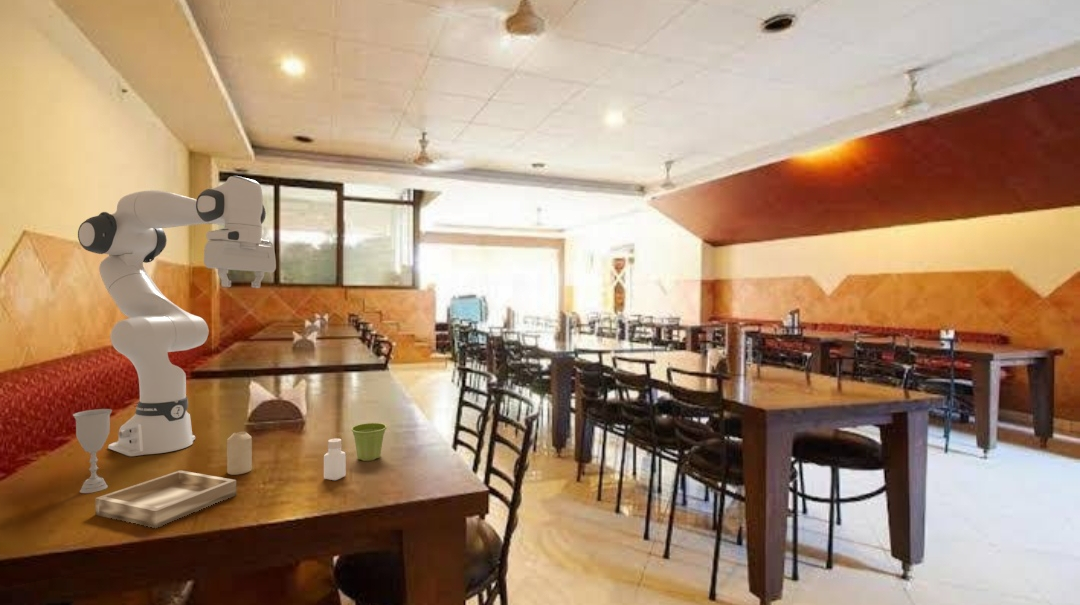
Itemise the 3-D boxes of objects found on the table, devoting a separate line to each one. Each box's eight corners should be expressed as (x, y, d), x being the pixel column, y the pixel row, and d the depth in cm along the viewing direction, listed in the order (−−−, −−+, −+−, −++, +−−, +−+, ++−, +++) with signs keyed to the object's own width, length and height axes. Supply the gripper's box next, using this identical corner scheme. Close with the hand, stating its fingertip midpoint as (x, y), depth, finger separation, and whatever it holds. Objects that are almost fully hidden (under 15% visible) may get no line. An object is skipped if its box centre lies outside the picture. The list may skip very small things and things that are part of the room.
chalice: (93, 482, 127) (92, 408, 126) (121, 483, 126) (120, 409, 126) (65, 494, 119) (64, 416, 119) (94, 495, 119) (93, 416, 119)
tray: (95, 514, 109) (95, 498, 109) (180, 484, 126) (180, 470, 126) (155, 528, 103) (155, 511, 103) (236, 495, 120) (236, 480, 120)
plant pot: (386, 461, 144) (386, 430, 144) (350, 464, 142) (350, 432, 141) (386, 451, 153) (386, 422, 153) (352, 454, 151) (352, 424, 150)
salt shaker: (335, 481, 129) (335, 443, 129) (322, 479, 130) (322, 441, 130) (346, 476, 133) (346, 438, 133) (334, 474, 134) (334, 437, 134)
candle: (240, 475, 132) (240, 436, 132) (222, 474, 134) (221, 435, 133) (256, 468, 138) (256, 430, 138) (238, 466, 139) (238, 429, 139)
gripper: (265, 241, 154) (263, 288, 154) (200, 231, 135) (198, 285, 135) (282, 241, 152) (280, 288, 152) (218, 231, 133) (217, 286, 133)
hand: (241, 287), depth 143 cm, fingers open, 8 cm apart
